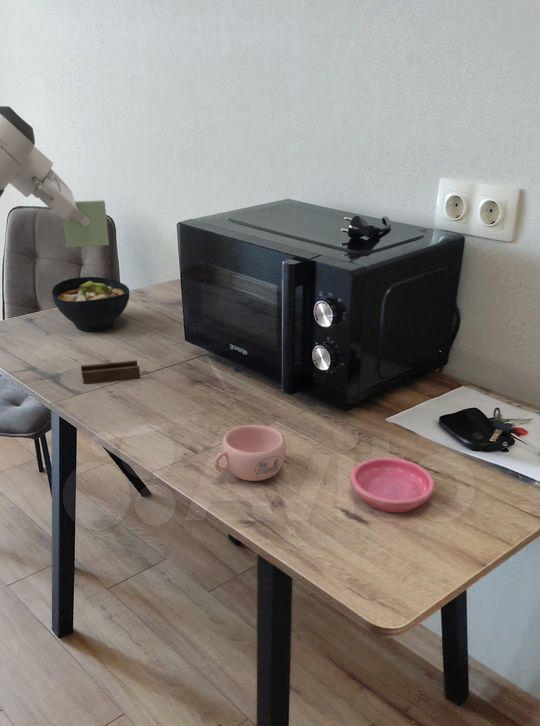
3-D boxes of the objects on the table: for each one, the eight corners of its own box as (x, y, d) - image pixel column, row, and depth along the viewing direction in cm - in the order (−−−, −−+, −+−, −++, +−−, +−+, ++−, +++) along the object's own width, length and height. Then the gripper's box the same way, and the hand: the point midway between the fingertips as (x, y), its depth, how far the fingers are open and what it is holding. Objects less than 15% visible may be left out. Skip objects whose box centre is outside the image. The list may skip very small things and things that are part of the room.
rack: (83, 384, 137) (82, 372, 136) (82, 376, 140) (80, 365, 139) (140, 378, 140) (139, 367, 139) (137, 371, 143) (136, 360, 141)
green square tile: (66, 247, 151) (60, 203, 146) (66, 245, 152) (60, 201, 147) (109, 245, 153) (104, 201, 148) (108, 243, 154) (104, 200, 149)
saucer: (449, 505, 105) (452, 487, 103) (382, 528, 99) (385, 510, 98) (397, 466, 114) (399, 449, 112) (333, 485, 108) (334, 468, 107)
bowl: (74, 344, 154) (68, 299, 148) (45, 321, 165) (39, 279, 160) (144, 329, 162) (141, 287, 157) (112, 308, 174) (108, 268, 168)
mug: (263, 449, 117) (264, 418, 114) (297, 477, 110) (298, 444, 107) (199, 468, 112) (198, 435, 109) (230, 498, 105) (230, 464, 102)
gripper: (44, 170, 133) (102, 221, 141) (40, 154, 150) (93, 201, 157) (23, 196, 134) (82, 245, 142) (22, 177, 151) (75, 222, 159)
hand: (87, 222), depth 150 cm, fingers closed on green square tile, 1 cm apart
